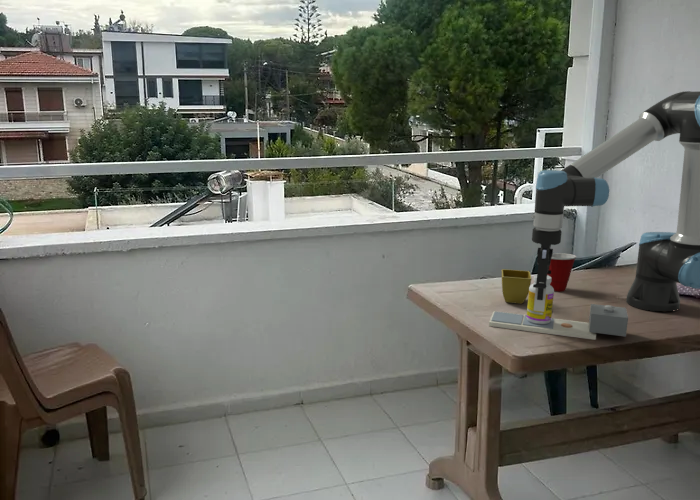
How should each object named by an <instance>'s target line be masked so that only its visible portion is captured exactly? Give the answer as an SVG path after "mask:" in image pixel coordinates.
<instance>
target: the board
mask: <svg viewBox="0 0 700 500" xmlns="http://www.w3.org/2000/svg"><path fill="white" fill-rule="evenodd" d="M526 317H527V314H519V313H513V312H505V311H504V312H503V311H498V310H497V311H496V310H494V311H492V314H491V316H490V318H489V321H488V326H489V327H494V328H501V329H509V330H510V329H511V330H519V331H525V332H533V333H538V334H539V333H541V334H549V335H557V336H564V337H570V338H578V339H579V338H580V339H586V340H595V341H596V340H597V333H594V332H589V322H586V321H585V322H584V321H577V320H570V319H561V318H552V317H551V321H550V323H548V324H535V323H531V322H529V321H528V320H527V318H526Z"/></svg>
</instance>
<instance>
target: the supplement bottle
mask: <svg viewBox="0 0 700 500" xmlns="http://www.w3.org/2000/svg"><path fill="white" fill-rule="evenodd" d="M551 279H552V278H551V277H550V276H547V281H546V297H545V308H544V312H542V311H534V300H535V289H536V288H535V287H533V284H536V282H537V274H534V275H533V283H531V284H530V287H529V293H528V296H527V308H526V315H527V317H526V318H527V320H528V321H529V322H531V323H535V324H548V323H550V321H551V318H552V314H553V303H554V294H555V291H554V289H553V287H552V286H551V285H550V283H551ZM539 283H542V282H539Z"/></svg>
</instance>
